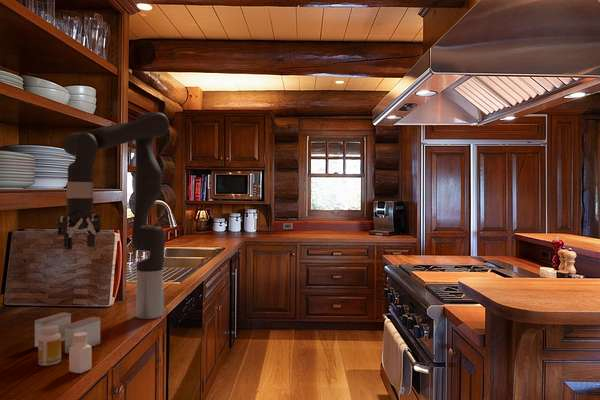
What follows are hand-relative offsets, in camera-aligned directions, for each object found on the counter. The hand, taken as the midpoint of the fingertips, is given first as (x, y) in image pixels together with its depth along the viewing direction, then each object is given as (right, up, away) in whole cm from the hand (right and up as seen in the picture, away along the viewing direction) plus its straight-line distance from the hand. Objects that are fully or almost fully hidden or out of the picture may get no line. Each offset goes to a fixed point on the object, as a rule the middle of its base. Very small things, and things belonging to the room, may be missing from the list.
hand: (79, 248), depth 143 cm
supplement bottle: (+2, -29, -21) cm, 35 cm away
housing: (0, -28, -7) cm, 29 cm away
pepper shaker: (+13, -29, -26) cm, 41 cm away
